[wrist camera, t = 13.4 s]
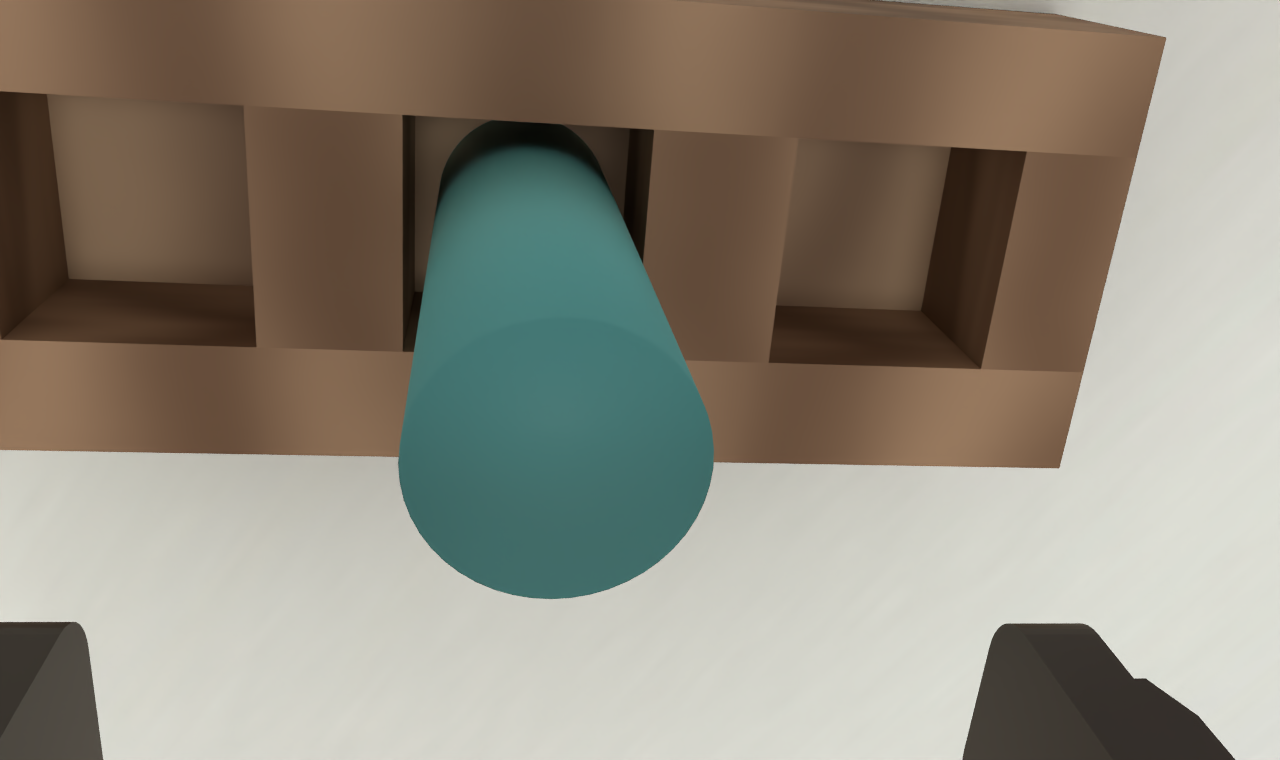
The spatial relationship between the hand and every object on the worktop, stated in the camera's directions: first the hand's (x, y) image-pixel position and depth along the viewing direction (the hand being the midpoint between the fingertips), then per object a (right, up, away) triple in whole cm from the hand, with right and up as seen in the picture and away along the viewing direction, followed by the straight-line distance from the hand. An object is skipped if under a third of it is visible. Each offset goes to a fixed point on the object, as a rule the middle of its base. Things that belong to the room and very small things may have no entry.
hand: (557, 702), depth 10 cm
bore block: (-2, +8, +18) cm, 20 cm away
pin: (-2, +7, +17) cm, 19 cm away
